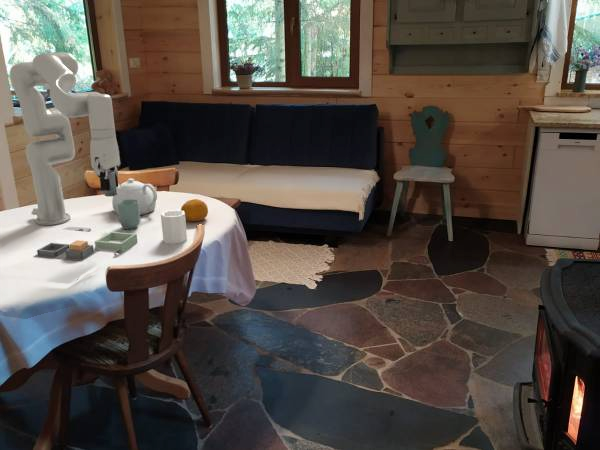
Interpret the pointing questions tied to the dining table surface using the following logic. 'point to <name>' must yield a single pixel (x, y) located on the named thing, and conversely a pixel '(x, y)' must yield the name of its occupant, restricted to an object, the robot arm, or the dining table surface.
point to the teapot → (136, 195)
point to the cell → (111, 184)
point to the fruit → (195, 210)
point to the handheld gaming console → (78, 229)
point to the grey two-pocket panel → (65, 252)
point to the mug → (174, 226)
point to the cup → (129, 213)
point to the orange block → (78, 245)
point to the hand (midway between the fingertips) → (109, 187)
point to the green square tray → (121, 247)
